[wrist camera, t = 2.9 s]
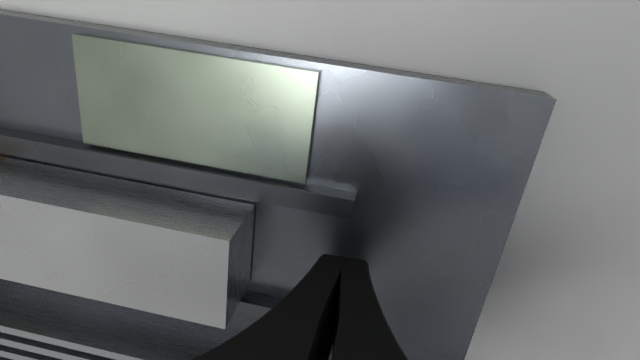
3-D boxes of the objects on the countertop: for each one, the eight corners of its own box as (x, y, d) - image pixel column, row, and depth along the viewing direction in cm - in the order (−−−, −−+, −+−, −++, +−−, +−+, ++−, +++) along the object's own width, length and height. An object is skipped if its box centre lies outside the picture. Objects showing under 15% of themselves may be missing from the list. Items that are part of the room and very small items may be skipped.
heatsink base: (543, 92, 11) (630, 140, 7) (438, 400, 16) (454, 538, 12) (-232, -27, 14) (-503, -41, 10) (-125, 270, 19) (-275, 346, 14)
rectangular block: (254, 204, 13) (229, 241, 11) (249, 283, 14) (225, 329, 12) (-34, 149, 14) (-106, 172, 12) (-16, 227, 15) (-79, 260, 13)
